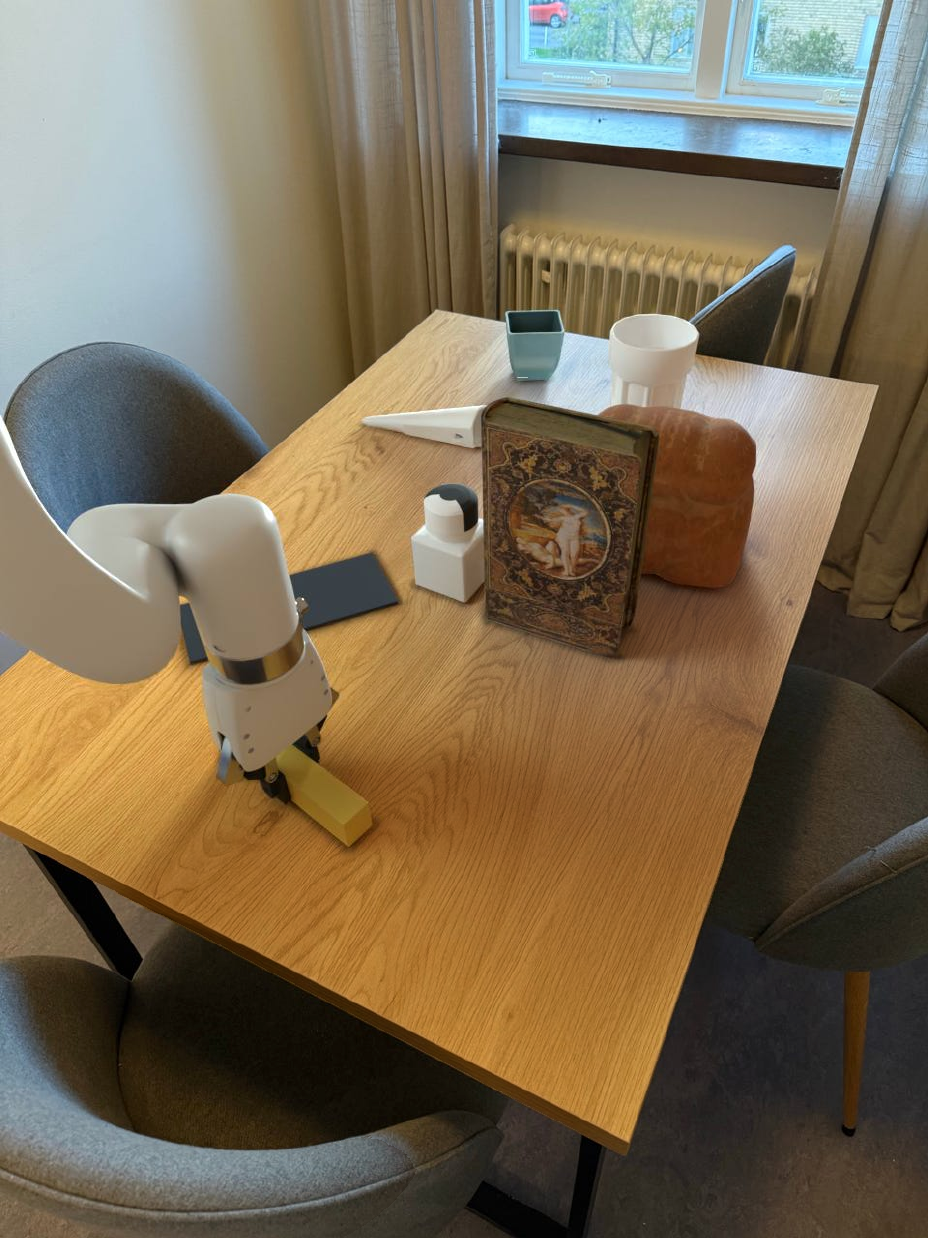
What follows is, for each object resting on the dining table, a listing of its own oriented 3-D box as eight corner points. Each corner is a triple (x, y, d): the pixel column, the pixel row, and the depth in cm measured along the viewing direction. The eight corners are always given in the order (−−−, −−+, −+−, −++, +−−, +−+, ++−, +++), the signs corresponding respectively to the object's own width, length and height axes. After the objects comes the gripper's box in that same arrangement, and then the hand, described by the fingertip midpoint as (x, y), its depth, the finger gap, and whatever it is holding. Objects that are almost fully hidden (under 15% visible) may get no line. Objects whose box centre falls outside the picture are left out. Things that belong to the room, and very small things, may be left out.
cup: (662, 478, 114) (680, 358, 102) (586, 457, 118) (595, 339, 106) (691, 440, 120) (711, 323, 109) (619, 421, 125) (631, 307, 113)
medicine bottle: (445, 552, 103) (440, 470, 95) (495, 569, 101) (494, 486, 92) (414, 585, 99) (405, 501, 91) (465, 604, 96) (461, 520, 88)
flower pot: (556, 361, 140) (559, 308, 134) (562, 386, 134) (565, 332, 128) (504, 363, 140) (504, 310, 134) (507, 388, 134) (507, 334, 128)
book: (478, 617, 94) (472, 420, 77) (498, 588, 98) (497, 394, 81) (617, 660, 89) (643, 458, 72) (633, 628, 92) (662, 428, 75)
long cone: (385, 416, 132) (494, 430, 124) (364, 439, 128) (475, 455, 120) (376, 384, 128) (488, 396, 120) (354, 407, 124) (468, 421, 116)
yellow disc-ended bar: (384, 814, 76) (380, 791, 73) (336, 859, 72) (330, 837, 70) (258, 717, 85) (251, 694, 82) (210, 754, 81) (201, 731, 79)
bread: (730, 607, 94) (762, 482, 83) (548, 569, 100) (554, 447, 89) (750, 520, 106) (779, 400, 95) (586, 490, 112) (595, 374, 101)
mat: (190, 664, 91) (189, 662, 90) (177, 608, 97) (176, 605, 97) (398, 603, 97) (398, 600, 96) (372, 554, 104) (372, 552, 103)
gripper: (301, 571, 72) (330, 711, 85) (138, 679, 63) (198, 817, 76) (362, 608, 68) (383, 748, 81) (198, 728, 59) (250, 864, 72)
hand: (293, 780), depth 78 cm, fingers closed on yellow disc-ended bar, 3 cm apart
